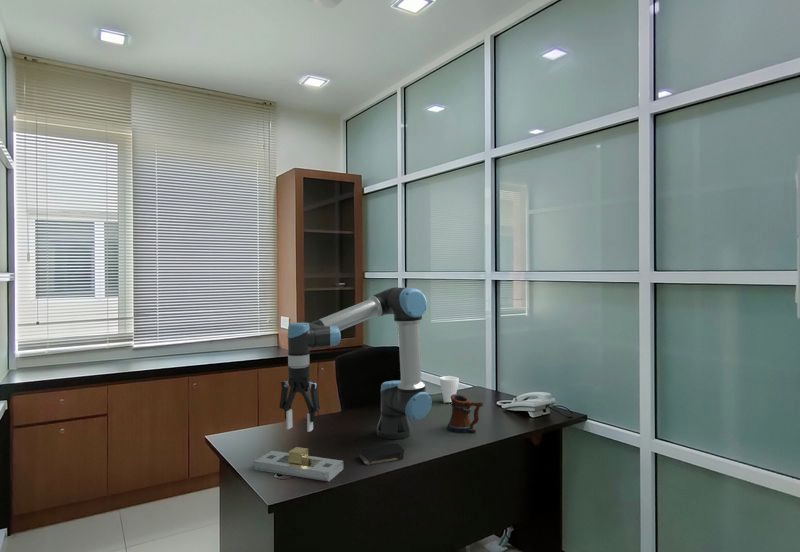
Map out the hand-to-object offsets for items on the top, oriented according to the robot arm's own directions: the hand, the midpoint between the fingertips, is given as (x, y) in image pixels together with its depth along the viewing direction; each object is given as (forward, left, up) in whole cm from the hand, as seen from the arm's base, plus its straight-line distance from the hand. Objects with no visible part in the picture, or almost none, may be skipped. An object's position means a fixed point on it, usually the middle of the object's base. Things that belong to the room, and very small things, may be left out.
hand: (299, 429), depth 172 cm
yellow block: (0, 0, -14) cm, 14 cm away
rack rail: (0, 0, -14) cm, 14 cm away
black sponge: (-24, -19, -15) cm, 34 cm away
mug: (-48, -63, -15) cm, 80 cm away
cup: (-30, -107, -15) cm, 112 cm away
